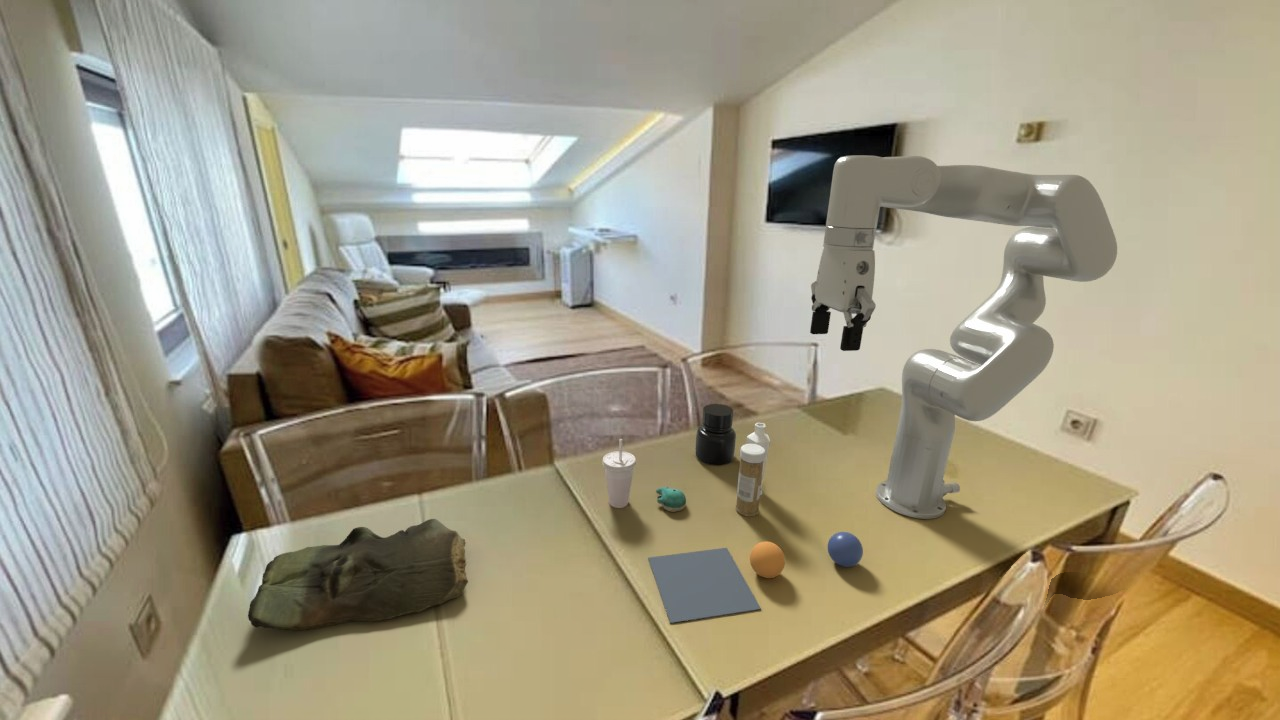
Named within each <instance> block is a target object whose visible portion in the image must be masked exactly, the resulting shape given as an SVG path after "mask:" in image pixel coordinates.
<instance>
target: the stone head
mask: <svg viewBox="0 0 1280 720" xmlns="http://www.w3.org/2000/svg"><path fill="white" fill-rule="evenodd" d="M466 543H467V542H466V539H465V538H462V537H461V535H460V533H458V532H457V531H456V530H452V529H449V528H448V527H447V526H446V525H444V524H443V523H442V522H441V521H439V520H438V519H436V518H430V519H426V520H425V521H424V522H422V523H419V524H417V525H411V526H409V527H407V528H406V529H405V530H403V529H401V530H398V531H397V532H395V533H394V534H391V535H389V536H387V537H386V536H385V537H382V536H379V534H376V533H374V532H373V531H372V530H371V529H370V528H368V527H366V526H358V527H354V528H353V529H352V530H351V531H350V532H349V534H348V535H347V536H346V538H345V539H344V540H343V541H342V542H340V543H339V544H323V545H316V546H307V547H305V548H302V549H298V550H295V551H289V552H284V553H281V554H278V555H276V556H275V557H273V560H271V561H270V562H268V563H267V564H266V567H265V568H264V569H265V570H264V572H263V574H262V578H261V584H260V585H259V586H258V589H257V592H256V594H255V595H254V597H253V599H251V601H250V604H249V610H248V614H247V618H248V620H249V622H250V624H251V626H253V628H259V627H262V628H264V629H278V630H284V631H303V630H310V629H317V628H324V627H329V626H330V627H333V626H335V625H338V624H342V623H345V622H347V623H349V622H357V621H359V622H360V621H361V622H363V621H368V622H378V621H382V620H383V621H384V620H389V619H392V618H395V617H400V616H402V615H403V616H404V615H407V614H410V613H420V612H422V611H424V610H426V609H428V608H429V607H434V606H439V605H442V604H444V603H446V602H448V601H449V600H452V599H456V598H457V597H460V596H461V595H462V594H463V593H464V590H465V588H466V586H467V584H468V583H469V580H468V577H467V572H466V566H467V564H466V549H465V545H466Z"/></svg>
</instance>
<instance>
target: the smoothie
mask: <svg viewBox="0 0 1280 720" xmlns="http://www.w3.org/2000/svg"><path fill="white" fill-rule="evenodd" d="M618 440H619V442H618V446H619V447H618V450H617V451H610V452H608V453H606V454H604V456H603V457H602V466H603V467H604V474H605V481H606V488H607V494H608V495H607V497H608V501H609V505H610V506H611V507H612V508H617V509H620V508H625V507H626V506H627V505H628V504H629V499H630V495H631V494H630V492H631V486H632V480H633V474H634V468H635V467H636V465H637V462H636V461H637V459H636V456H635V455H633V453H630V452H629V451H624V450H623V439H622V438H619V439H618Z"/></svg>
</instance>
